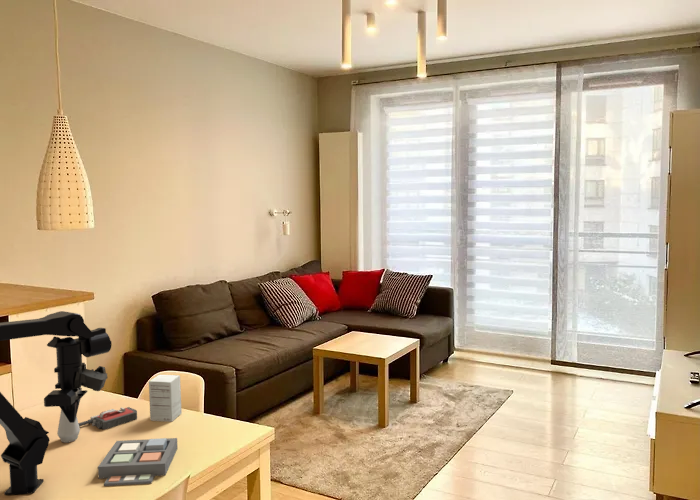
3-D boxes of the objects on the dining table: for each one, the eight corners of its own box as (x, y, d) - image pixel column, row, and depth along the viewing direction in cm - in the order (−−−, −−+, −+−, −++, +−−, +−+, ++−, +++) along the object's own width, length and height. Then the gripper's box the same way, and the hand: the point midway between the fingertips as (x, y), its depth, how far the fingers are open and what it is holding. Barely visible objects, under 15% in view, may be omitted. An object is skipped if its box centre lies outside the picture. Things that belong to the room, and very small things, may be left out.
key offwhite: (136, 456, 156) (135, 449, 156) (118, 457, 156) (118, 450, 156) (140, 449, 161) (140, 442, 161) (123, 450, 160) (123, 443, 160)
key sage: (129, 468, 150) (128, 461, 149) (110, 469, 149) (110, 462, 149) (133, 461, 154) (133, 453, 154) (115, 462, 153) (115, 454, 153)
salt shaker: (71, 444, 167) (69, 399, 166) (53, 443, 169) (50, 398, 167) (84, 436, 173) (82, 392, 172) (66, 435, 174) (64, 391, 173)
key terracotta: (157, 467, 150) (157, 459, 150) (139, 468, 150) (139, 460, 150) (161, 459, 155) (161, 452, 154) (143, 460, 154) (143, 453, 154)
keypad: (162, 482, 144) (161, 470, 144) (93, 486, 143) (92, 474, 142) (177, 448, 164) (177, 438, 164) (117, 451, 163) (116, 440, 162)
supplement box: (160, 412, 192) (159, 374, 191) (182, 413, 191) (181, 374, 190) (149, 421, 185) (147, 380, 184) (172, 422, 184) (170, 381, 183)
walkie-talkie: (126, 413, 193) (64, 432, 178) (126, 399, 193) (64, 417, 177) (142, 419, 188) (79, 439, 172) (141, 405, 187) (78, 424, 172)
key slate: (163, 452, 157) (163, 444, 157) (146, 453, 157) (145, 445, 156) (166, 445, 161) (166, 438, 161) (150, 446, 161) (149, 438, 161)
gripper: (90, 370, 142) (93, 434, 143) (113, 351, 161) (115, 408, 162) (41, 372, 141) (44, 437, 142) (70, 352, 159) (72, 409, 161)
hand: (72, 422), depth 152 cm, fingers closed
